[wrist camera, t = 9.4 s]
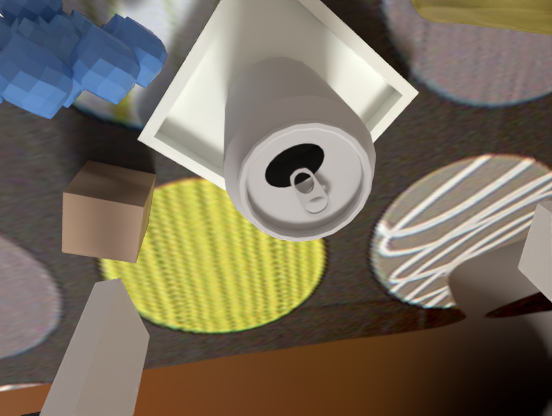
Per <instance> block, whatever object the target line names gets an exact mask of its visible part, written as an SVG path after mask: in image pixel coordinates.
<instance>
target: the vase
mask: <svg viewBox="0 0 552 416" xmlns="http://www.w3.org/2000/svg"><path fill="white" fill-rule="evenodd" d="M411 2H412V4H413V6H414V8H415V10H416V11H417V12H418V13H419V14H420V15H421V16H422V17H423V18H425V19H427V20H429V21H432V22H436V23H451V22H454V23H462V24H470V25H476V26H482V27H489V28H502V29H510V30H516V31H522V32H529V33H539V34H547V35H552V0H411Z"/></svg>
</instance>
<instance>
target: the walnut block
mask: <svg viewBox="0 0 552 416" xmlns="http://www.w3.org/2000/svg"><path fill="white" fill-rule="evenodd" d="M155 178H156V174H151V173H147V172H142V171H137V170H132V169H128V168H123V167H118V166H114V165H109V164H104V163H99V162H95V161H90V160H87V162H86V163H85V164H84V166H83V167H82V168H81V170H80V171H79V172H78V174H77V175H76V176H75V177H74V179H73V180H72V181H71V183H70V184H69V185H68V187H67V188H66V189H65V190H64V192H63V228H62V252H65V253H72V254H79V255H85V256H92V257H98V258H105V259H112V260H118V261H125V262H132V263H136V261H137V258H138V255H139V252H140V249H141V245H142V242H143V239H144V236H145V233H146V230H147V227H148V222H149V216H150V209H151V203H152V197H153V190H154V184H155Z"/></svg>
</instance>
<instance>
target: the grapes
mask: <svg viewBox="0 0 552 416" xmlns="http://www.w3.org/2000/svg"><path fill="white" fill-rule="evenodd" d="M0 14H1V15H2V16H3V17H4V18H3V17H1V16H0V105H1V103H2V102H3V100H4V99H5V100H6V101H8V102H11V103H13V104H15V105H17V106H19V107H21V108H23V109H25V110H27V111H29V112H32V113H34V114H36V115H39V116H42V117H45V118H48V119H51V118H52V117H53V116H54V115H55V114H56V113H57V111H58V110H59V109H60V108H61V107H62V106H65V107H67V108H68V107H69V106H70V105H71V104H72V103H73V102H74V101H75V100H76V98H77V97H78V96H79V95H80V94H81V93H82V91H84V90H85V89H86V90H88V91H89V92H91V93H93V94H94V95H96V96H98V97H100V98H102V99H104V100H106V101H109V102H111V103H113V104H116V105H117V104H118V103H119V102H120V101H121V100H122V99H123V98H124V97H125V96H126V95H127V94H128V93H129V91H130V90H131V89H132V88H133V87H134V85H135V83H136V84H138V85H140V86H142V87H144V88H146V87H147V86H148V85H149V84H150V83H151V82H152V81H153V80H154V79H155V78H156V76H157V75H158V74H159V73H160V72H161V70H162V68H163V66H164V63H165V61H166V58H167V53H166V49H165V46H164V45H163V43H162V42H161V40H160V39H159V38H158V37H157V36H156V35H154V34H153V33H152V32H151V31H150V30H148V29H147V28H145V27H144V26H142V25H141V24H139V23H137V22H136V21H134V20H132V19H131V18H129V17H126V18H123V17H121V16H120V15H118V14H115V15H114V16H113V18H112V19H111V20H110V21H109V22H108V24H107V25H106V26H105V25H102V26H101V27H100V28H99V27H97V26H96V25H95V24H94V23H93V22H92V21H91V20H90V19H89V18H87V17H85V16H84V15H82V14H80V13H79V12H77V11H75V10H73V12H72V13H71V15H70V16H69V15H68V14H66V13H64V12H63V11H62V0H0Z"/></svg>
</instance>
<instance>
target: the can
mask: <svg viewBox="0 0 552 416" xmlns="http://www.w3.org/2000/svg"><path fill="white" fill-rule="evenodd" d="M375 158H376V154H375V150H374V145H373V141H372V137H371V134H370V132H369V131H368V129H367V128H366V126H365V125H364V123H363V122H362V120H361V119H360V117H359V116H358V115H357V114H356V113H355V112H354V111H353V110H352V108H351V107H350V106H349V105H348V104H347V103H346V102H345V101H344V100H343V99H342V98H341V97H340V96H339V95H338V94H337V93H336V92H335V91H334V90H333V89H332V88H331V87H330V86H329V85H328V83H327V82H326V81H325V80H324V79H323V78H322V77H321V76H320V75H319V74H318V73H317V72H316V71H315V70H313V69H312V68H310V67H309V66H307V65H306V64H305V63H303V62H301V61H298V60H294V59H291V58H287V57H277V58H266V59H264V60H262V61H259V62H257V63H255V64H252V65H250V66H249V67H248V68H247V69H246V70H245V71H243V72H242V73H241V74H240V75H239V76H238V77H237V78H236V80H235V82H234V83H233V85H232V87H231V89H230V90H229V92H228V96H227V101H226V106H225V121H224V156H223V171H224V179H225V186H226V191H227V193H228V195H229V197H230V199H231V200H232V202H233V204H234V206H235V208H236V209H237V210H238V211H239V212H240V213H241V214H242V215H243V216H244V217H245V218H246V219H247V220H248V221H250V222H251V223H252V224H254V225H255V226H256V227H257V228H258V229H259V230H260V231H262V232H264V233H266V234H268V235H271V236H273V237H275V238H277V239H282V240H288V241H295V242H299V241H309V240H316V239H319V238H322V237H325V236H327V235H330V234H333V233H335V232H336V231H338V230H339V229H341V228H342V227H344V226H345V225H347V224H348V223H350V222H351V221H352V219H353V218H354V217H355V216H356V215H357V214H358V213H359V211H360V210H361V209H362V208H363V206H364V204H365V202H366V200H367V198H368V195H369V193H370V191H371V186H372V179H373V176H374V167H375Z"/></svg>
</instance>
